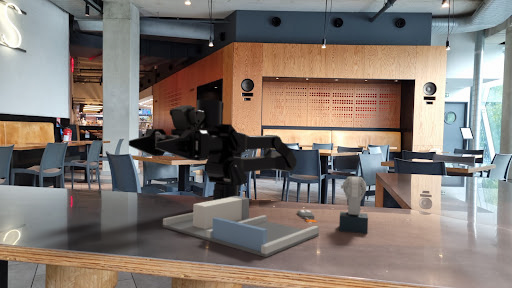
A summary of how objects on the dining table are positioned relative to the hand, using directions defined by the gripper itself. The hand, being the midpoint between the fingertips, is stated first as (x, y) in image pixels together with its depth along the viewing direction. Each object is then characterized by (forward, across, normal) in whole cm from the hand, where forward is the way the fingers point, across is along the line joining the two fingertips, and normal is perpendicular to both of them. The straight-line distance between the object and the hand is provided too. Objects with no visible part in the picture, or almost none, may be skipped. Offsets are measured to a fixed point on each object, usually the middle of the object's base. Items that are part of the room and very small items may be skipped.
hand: (142, 144), depth 76 cm
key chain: (-29, +22, +17) cm, 41 cm away
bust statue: (-28, +33, +17) cm, 47 cm away
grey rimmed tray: (-11, +17, +17) cm, 26 cm away
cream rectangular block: (-11, +11, +16) cm, 22 cm away
